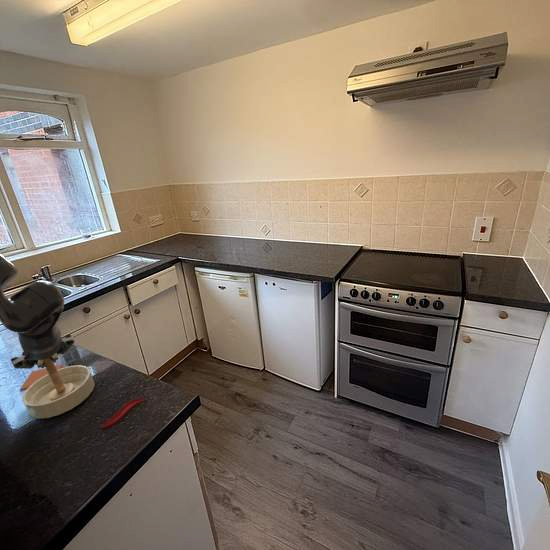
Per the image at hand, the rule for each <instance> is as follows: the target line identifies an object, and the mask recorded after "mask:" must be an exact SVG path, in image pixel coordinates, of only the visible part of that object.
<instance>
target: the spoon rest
mask: <svg viewBox="0 0 550 550" xmlns="http://www.w3.org/2000/svg"><path fill="white" fill-rule="evenodd" d="M63 366H64V365H63V363H61V364H57V365H55V367H56V369H57V370H59V369H61V368H63ZM47 374H48V372H47V370H46V368H45V367H44V368H39V369H36V370H33V371H31V372H30V373H29V375H28V376H27V378H26V379H25V380H24V382H23V384H22V385H21V386H20V388H19V391H26V390H27V389H28V388H29V387H30V386H31V385H32V384H33V383H34V382H36V381H37V380H39V379H40V378H42V377H43V376H45V375H47Z"/></svg>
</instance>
